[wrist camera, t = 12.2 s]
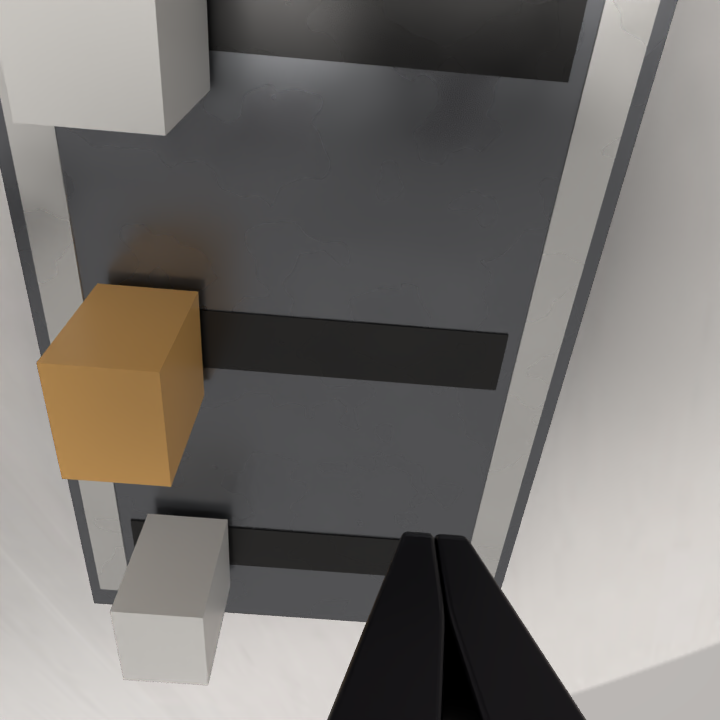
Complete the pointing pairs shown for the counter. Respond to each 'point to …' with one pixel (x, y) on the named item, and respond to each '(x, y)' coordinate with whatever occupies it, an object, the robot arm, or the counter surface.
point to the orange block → (125, 384)
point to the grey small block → (173, 600)
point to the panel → (351, 271)
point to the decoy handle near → (104, 62)
